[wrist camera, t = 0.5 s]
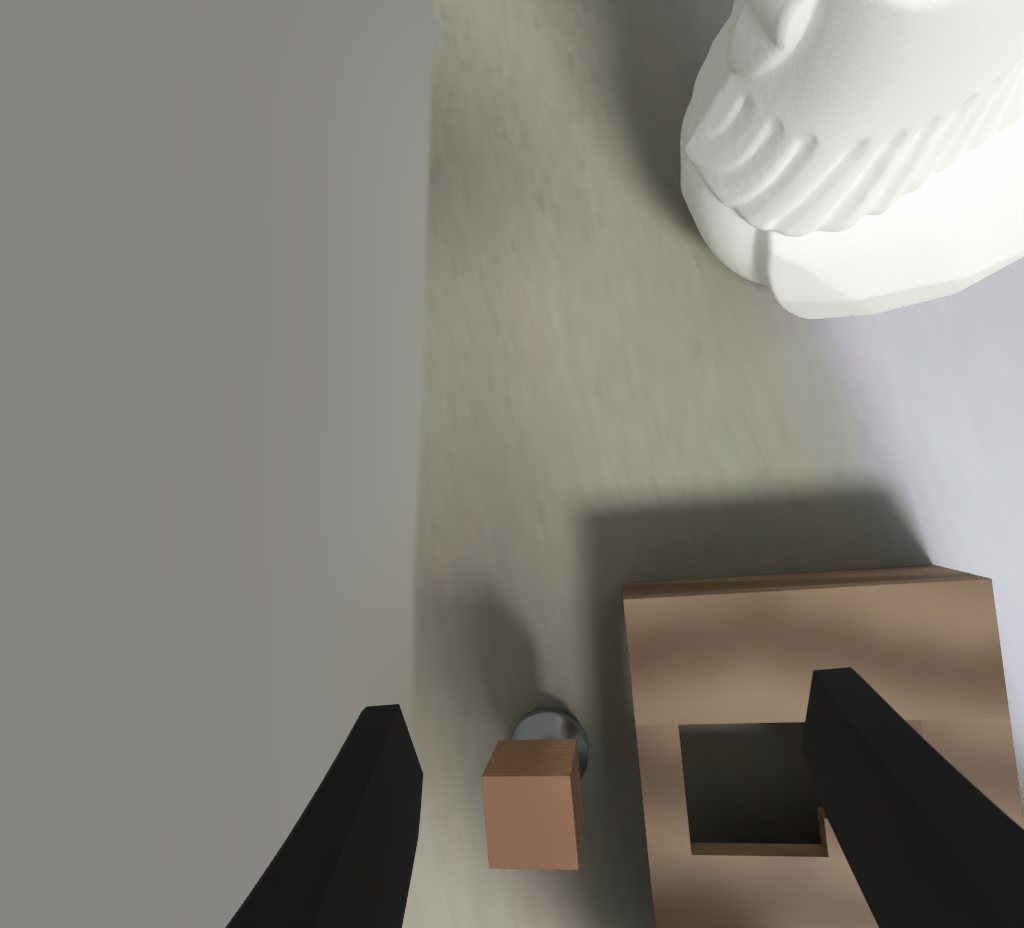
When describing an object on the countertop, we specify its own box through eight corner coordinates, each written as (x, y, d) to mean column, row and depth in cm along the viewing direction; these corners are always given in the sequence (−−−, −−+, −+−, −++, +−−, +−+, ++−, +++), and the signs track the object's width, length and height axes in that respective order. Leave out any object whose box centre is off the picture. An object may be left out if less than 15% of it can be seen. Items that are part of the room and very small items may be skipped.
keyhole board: (978, 922, 30) (1048, 1006, 25) (654, 912, 33) (660, 986, 28) (933, 564, 31) (991, 579, 26) (622, 583, 34) (623, 599, 29)
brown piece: (592, 785, 34) (583, 875, 26) (515, 785, 35) (485, 872, 27) (584, 706, 34) (574, 771, 26) (509, 708, 35) (476, 772, 27)
